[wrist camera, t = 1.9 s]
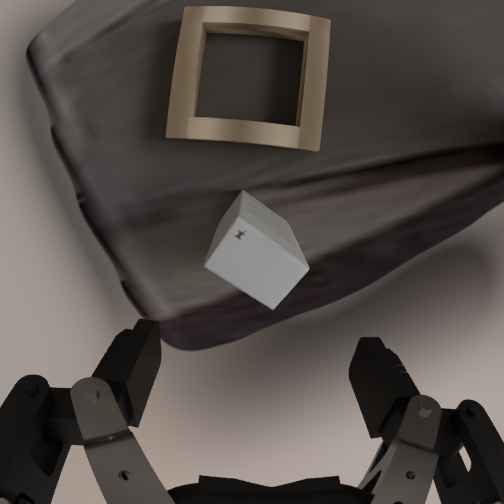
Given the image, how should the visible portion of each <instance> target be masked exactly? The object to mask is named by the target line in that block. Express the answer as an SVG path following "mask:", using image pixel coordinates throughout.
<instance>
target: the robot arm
mask: <svg viewBox="0 0 504 504" xmlns="http://www.w3.org/2000/svg"><path fill="white" fill-rule="evenodd" d="M161 354H162V353H161V340H160V327H159V322H158V321H153V320H147V319H139V320H138V321H137V323H136V325H135V326H134V328H133V330H130V329H125V330H123V331H122V332H120V333H119V334H118V335H117V336H116V337H115V339H114V340H113V342H112V343H111V345H110V346H109V348H108V350H107V352H106V353H105V354H104V356H103V358H102V359H101V361H100V363H99V364H98V366H97V368H96V370H95V371H94V373H93V374H92V376H91V377H88V378H84V379H81V380H79V381H77V382H76V383H75V384H74V385H73V386H72V388H53V387H50V386H49V384H48V382H47V380H46V379H45V378H44V377H42V376H39V375H27V376H25V377H22V378H21V379H20V380H19V381H18V382H17V383H16V384H15V386H14V387H13V389H12V390H11V392H10V393H9V395H8V396H7V398H6V399H5V401H4V402H3V404H2V406H1V408H0V504H51V501H52V498H53V495H54V492H55V489H56V486H57V483H58V480H59V477H60V474H61V471H62V468H63V465H64V463H65V460H66V458H67V455H68V452H69V450H70V447H71V445H83V446H84V449H85V452H86V455H87V458H88V460H89V463H90V466H91V468H92V471H93V473H94V476H95V478H96V480H97V482H98V485H99V487H100V489H101V491H102V494H103V496H104V498H105V500H106V502H107V504H425V501H426V499H427V495H428V493H429V489H430V486H431V483H432V479H433V480H434V483H435V486H436V488H437V492H438V494H439V498H440V501H441V504H504V442H503V440H502V439H501V437H500V435H499V433H498V432H497V430H496V428H495V426H494V425H493V423H492V421H491V420H490V418H489V416H488V415H487V413H486V411H485V410H484V408H483V407H482V406H481V405H480V404H479V403H478V402H476V401H473V400H463V401H462V402H461V403H460V404H459V406H458V407H457V408H456V409H444V408H441V407H440V405H439V404H438V402H437V401H436V400H434V399H433V398H431V397H429V396H426V395H421V394H420V392H419V391H418V389H417V387H416V386H415V384H414V382H413V380H412V379H411V377H410V375H409V374H408V373H407V371H406V369H405V367H404V366H403V364H402V362H401V361H400V359H399V357H398V356H397V355H396V354H395V353H393V352H392V351H391V350H390V349H386V347H385V346H384V344H383V342H382V341H381V339H380V338H379V337H362V338H360V340H359V342H358V345H357V347H356V350H355V353H354V356H353V358H352V361H351V364H350V367H349V380H350V382H351V385H352V388H353V390H354V393H355V396H356V399H357V401H358V404H359V407H360V409H361V412H362V415H363V418H364V421H365V423H366V426H367V429H368V432H369V435H370V437H371V439H372V438H378V437H382V439H383V442H382V443H381V445H380V447H379V448H378V451H377V453H376V455H375V457H374V459H373V461H372V463H371V465H370V467H369V469H368V471H367V473H366V475H365V477H364V478H363V480H362V481H361V483H360V484H359V486H358V487H353V486H350V485H345V484H340V480H339V476H332V477H323V478H309V479H304V480H300V481H296V482H293V483H288V484H284V485H280V486H276V487H268V486H263V485H259V484H254V483H250V482H246V481H242V480H238V479H234V478H221V477H211V476H202V475H199V483H193V484H187V485H182V486H178V487H175V488H172V489H170V490H167V491H166V489H165V488H164V486H163V485H162V483H161V482H160V480H159V478H158V477H157V475H156V473H155V472H154V470H153V468H152V467H151V465H150V463H149V462H148V460H147V458H146V457H145V455H144V453H143V451H142V449H141V447H140V446H139V444H138V442H137V440H136V438H135V436H134V434H133V433H132V432H130V430H129V428H128V426H133V427H137V428H138V427H139V424H140V420H141V418H142V415H143V412H144V409H145V406H146V403H147V400H148V397H149V395H150V392H151V389H152V386H153V384H154V381H155V378H156V375H157V373H158V370H159V367H160V363H161ZM463 446H464V447H465V449H466V451H467V453H468V455H469V457H470V460H471V469H470V471H469V472H468V471H467V469H466V467H465V464H464V462H463V460H462V457H461V455H460V453H459V450H460V449H461V448H462V447H463Z"/></svg>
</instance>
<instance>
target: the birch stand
mask: <svg viewBox="0 0 504 504" xmlns="http://www.w3.org/2000/svg"><path fill="white" fill-rule="evenodd" d="M330 22H331V20H330V19H326V18H321V17H316V16H311V15H305V14H299V13H293V12H286V11H279V10H270V9H260V8H248V7H227V6H195V7H185V10H184V15H183V20H182V25H181V30H180V35H179V41H178V46H177V52H176V58H175V65H174V71H173V78H172V85H171V93H170V101H169V110H168V119H167V129H166V138H172V139H195V140H213V141H227V142H239V143H250V144H259V145H268V146H277V147H285V148H292V149H299V150H306V151H314V152H319V148H320V140H321V131H322V122H323V113H324V103H325V92H326V81H327V69H328V55H329V40H330ZM207 33H228V34H246V35H258V36H268V37H276V38H284V39H291V40H297V41H303V42H304V46H303V57H302V68H301V79H300V89H299V99H298V108H297V118H296V126H289V125H282V124H274V123H265V122H256V121H246V120H234V119H220V118H201V117H195V116H196V107H197V98H198V90H199V82H200V75H201V67H202V60H203V54H204V47H205V41H206V35H207Z"/></svg>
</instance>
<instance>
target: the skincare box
mask: <svg viewBox="0 0 504 504" xmlns="http://www.w3.org/2000/svg"><path fill="white" fill-rule="evenodd" d="M204 267H205V268H207V269H208V270H210V271H211V272H213V273H215V274H216V275H218V276H219V277H221V278H222V279H224V280H225V281H227V282H229V283H230V284H232V285H233V286H235V287H237V288H238V289H240V290H241V291H243V292H245V293H246V294H248V295H250V296H251V297H253V298H255V299H256V300H258V301H259V302H261V303H263V304H264V305H266V306H267V307H269V308H270V309H272V310H273V309H274V308H275V307H276V306H277V305H278V304H279V303H280V302H281V301H282V299H283V298H284V297H285V296H286V295H287V294H288V293H289V292H290V291H291V289H292V288H293V287H294V286H295V285H296V284H297V283H298V282H299V280H300V279H301V278H302V277H303V276H304V275H305V274H306V272H307V271H308V270H309V266H308V264H307V262H306V260H305V257H304V255H303V253H302V251H301V249H300V247H299V245H298V243H297V240H296V238H295V236H294V234H293V232H292V230H291V228H290V226H289V224H288V222H287V221H286V220H284V219H283V218H281V217H280V216H279V215H277V214H276V213H275V212H273V211H272V210H271V209H269V208H268V207H266V206H265V205H264V204H262V203H261V202H260V201H258V200H257V199H255V198H254V197H253V196H251V195H250V194H248V193H247V192H246V191H244V190H242V191H241V192H240V194H239V195H238V196H237V198H236V199H235V200H234V202H233V203H232V204H231V206H230V207H229V209H228V210H227V212H226V213H225V214H224V216H223V217H222V219H221V220H220V222H219V225H218V227H217V230H216V232H215V235H214V238H213V240H212V243H211V246H210V248H209V251H208V254H207V257H206V259H205V262H204Z"/></svg>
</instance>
